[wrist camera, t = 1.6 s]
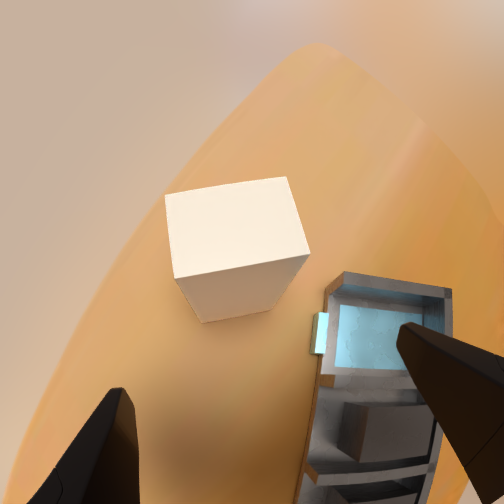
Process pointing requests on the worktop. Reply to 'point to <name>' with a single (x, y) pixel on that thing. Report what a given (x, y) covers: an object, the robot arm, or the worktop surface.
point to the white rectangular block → (235, 246)
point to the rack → (370, 395)
